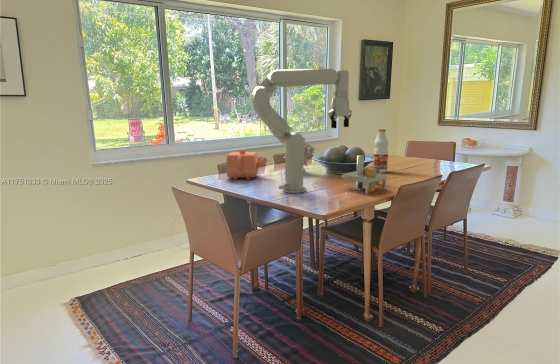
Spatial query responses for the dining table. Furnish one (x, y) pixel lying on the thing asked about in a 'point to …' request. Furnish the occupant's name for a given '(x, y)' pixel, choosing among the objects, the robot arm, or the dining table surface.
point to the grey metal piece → (363, 177)
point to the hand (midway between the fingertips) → (340, 127)
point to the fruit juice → (381, 151)
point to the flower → (306, 153)
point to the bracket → (376, 171)
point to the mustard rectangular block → (371, 173)
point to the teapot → (243, 164)
